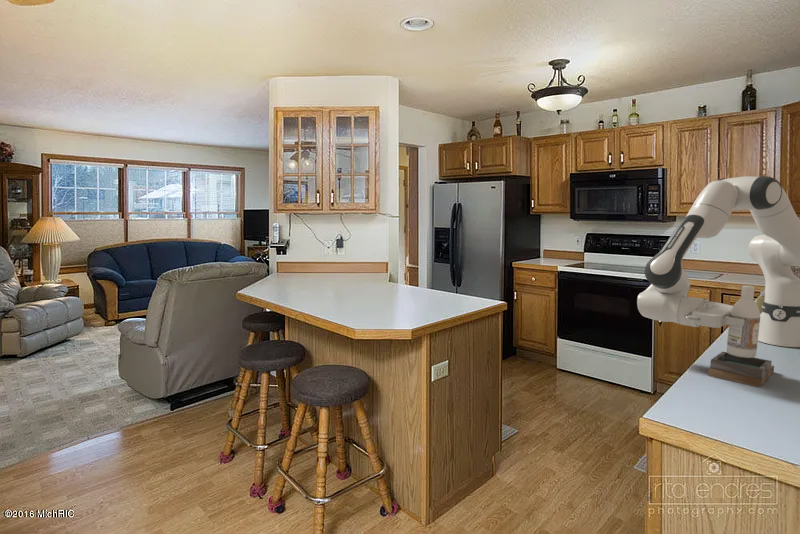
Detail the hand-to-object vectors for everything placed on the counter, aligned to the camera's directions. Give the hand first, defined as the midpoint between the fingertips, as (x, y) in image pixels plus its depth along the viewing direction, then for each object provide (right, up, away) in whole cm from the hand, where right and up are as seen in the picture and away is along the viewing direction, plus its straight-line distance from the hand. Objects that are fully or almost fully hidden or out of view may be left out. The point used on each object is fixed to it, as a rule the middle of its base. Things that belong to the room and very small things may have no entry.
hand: (748, 320), depth 135 cm
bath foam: (-1, -10, +2) cm, 11 cm away
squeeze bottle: (+51, -10, +61) cm, 80 cm away
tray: (+1, -16, +4) cm, 17 cm away
